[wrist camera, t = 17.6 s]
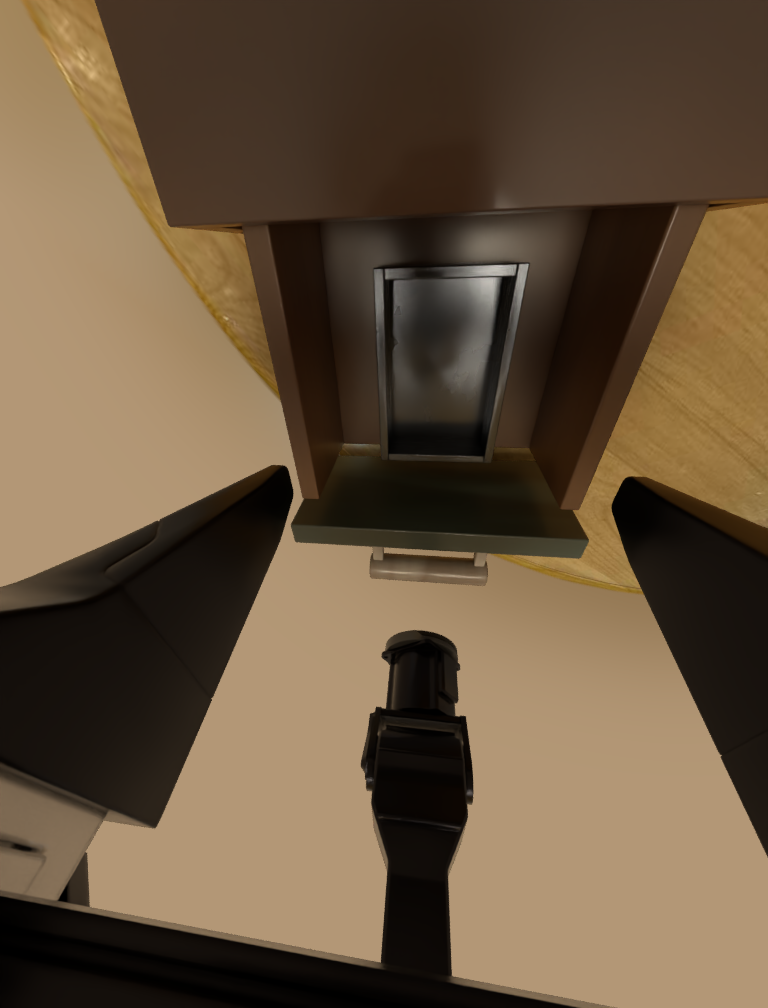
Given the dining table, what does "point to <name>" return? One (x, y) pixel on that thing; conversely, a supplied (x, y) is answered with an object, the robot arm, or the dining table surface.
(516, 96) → the cabinet
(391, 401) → the tray
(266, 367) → the dining table surface
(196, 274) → the dining table surface
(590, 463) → the drawer
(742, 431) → the dining table surface
